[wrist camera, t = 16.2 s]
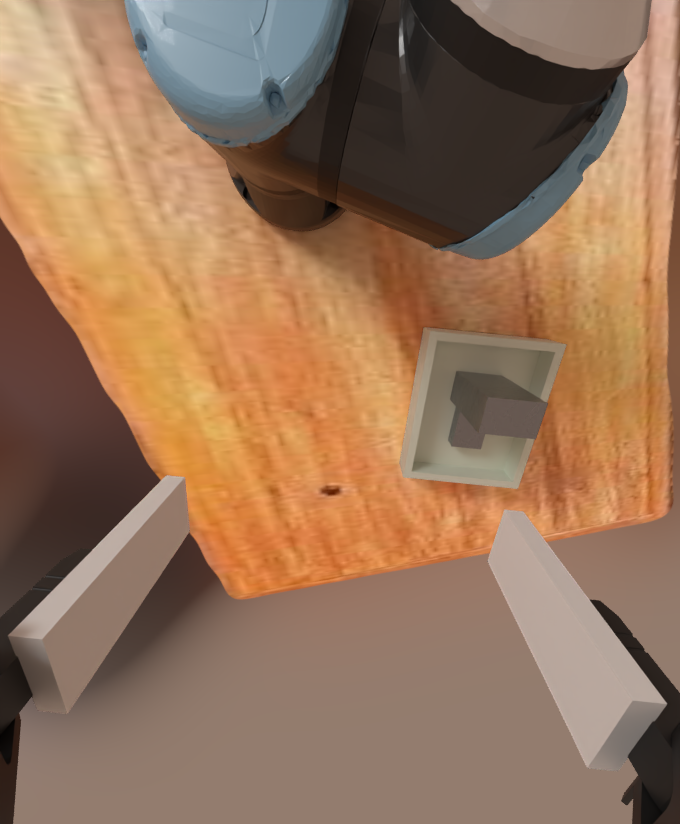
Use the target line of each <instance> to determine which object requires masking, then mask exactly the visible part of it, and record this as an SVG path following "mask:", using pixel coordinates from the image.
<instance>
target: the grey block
mask: <svg viewBox="0 0 680 824" xmlns="http://www.w3.org/2000/svg"><path fill="white" fill-rule="evenodd" d="M450 400H451V401H452V403H453V404H454V405H455V406H456V408H455V412H454V416H453V420H452V424H451V429H450V433H449V437H448V441H449V443H450V444H451V446H452V447H462V448H472V449H481V448H482V444H483V440H484V437H485V434H489V435H499V436H508V437H518V438H528V439H536V437H537V434H538V431H539V428H540V425H541V422H542V419H543V417H544V414H545V411H546V408H547V405H548V403H547V402H545V401H543V400H542V399H540V398H538V397H537V396H535V395H533V394H532V393H530V392H529V391H527V390H525V389H524V388H522V387H520V386H519V385H517V384H515V383H514V382H512V381H510V380H509V379H507V378H505V377H504V376H502V375H493V374H483V373H474V372H464V371H456V375H455V379H454V383H453V388H452V392H451V397H450Z"/></svg>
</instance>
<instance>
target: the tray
mask: <svg viewBox="0 0 680 824" xmlns="http://www.w3.org/2000/svg"><path fill="white" fill-rule="evenodd" d="M566 345H567V344H563V343H560V342H556V341H552V340H549V339H540V338H530V337H520V336H510V335H500V334H490V333H480V332H470V331H460V330H449V329H439V328H429V327H424V328H423V334H422V339H421V345H420V351H419V356H418V362H417V367H416V373H415V379H414V384H413V390H412V395H411V401H410V406H409V412H408V418H407V423H406V429H405V434H404V440H403V446H402V451H401V457H400V462H399V463H400V467H401V471H402V475H403V477H405V478H415V479H425V480H435V481H445V482H455V483H464V484H474V485H484V486H494V487H504V488H514V489H518V487H519V484H520V481H521V478H522V475H523V472H524V469H525V466H526V463H527V460H528V458H529V455H530V452H531V449H532V446H533V443H534V440H535V439H528V438H518V437H508V436H499V435H489V434H485V437H484V440H483V444H482V448H481V449H472V448H462V447H452V446H451V444H450V443H449V441H448V437H449V433H450V429H451V424H452V420H453V416H454V412H455V408H456V406H455V405H454V404H453V403H452V401H451V400H450V397H451V392H452V388H453V383H454V379H455V375H456V371H464V372H474V373H483V374H493V375H502V376H504V377H505V378H507V379H509V380H510V381H512V382H514V383H515V384H517V385H519V386H520V387H522V388H524V389H525V390H527V391H529V392H530V393H532V394H533V395H535V396H537V397H538V398H540V399H542V400H543V401H545V402H547V401H548V398H549V395H550V392H551V389H552V386H553V383H554V381H555V378H556V375H557V372H558V369H559V366H560V363H561V360H562V357H563V354H564V351H565V348H566Z"/></svg>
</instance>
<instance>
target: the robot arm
mask: <svg viewBox="0 0 680 824" xmlns="http://www.w3.org/2000/svg"><path fill="white" fill-rule="evenodd" d="M651 1H652V0H124V2H125V8H126V13H127V18H128V21H129V25H130V29H131V32H132V36H133V39H134V42H135V45H136V47H137V49H138V51H139V54H140V57H141V59H142V60H143V62H144V64H145V66H146V68H147V70H148V72H149V75H150V76H151V78H152V80H153V81H154V83H155V84H156V86H157V87H158V89H159V90H160V92H161V93H162V94H163V96H164V97H165V98H166V100H167V101H168V102H169V104H170V105H171V107H172V108H173V110H174V112H175V113H176V114H177V115H178V116H179V117H180V119H181V120H182V122H183V123H185V124H186V125H187V126H188V128H189V129H190V130H191V131H192V132H194V133H196V134H198V135H199V136H200V137H201V138H202V139H203V140H205V141H206V142H207V143H208V144H209V145H210V146H211V147H212V148H213V149H214V150H215V151H216V152H217V153H218V154H220V155H221V156H222V157H223V158H224V159H225V160H226V164H227V167H228V170H229V173H230V176H231V178H232V180H233V182H234V184H235V186H236V188H237V190H238V191H239V193H240V195H241V196H242V198H243V199H244V200H245V201H246V203H247V204H248V205H249V206H250V207H251V208H252V209H253V210H254V211H255V212H256V213H257V214H259V215H260V216H261V217H263V218H264V219H265V220H267V221H268V222H270V223H272V224H274V225H276V226H278V227H280V228H283V229H287V230H292V231H310V230H314V229H318V228H321V227H323V226H325V225H327V224H329V223H331V222H332V221H334V220H335V219H337V218H338V217H339V216H340V215H341V214H342V213H343V212H344V211H345V210H346V209H347V210H350V211H352V212H354V213H357V214H359V215H361V216H364V217H366V218H369V219H371V220H373V221H376V222H378V223H380V224H383V225H385V226H388V227H390V228H392V229H395V230H397V231H399V232H402V233H404V234H407V235H409V236H411V237H414V238H416V239H418V240H421V241H423V242H425V243H428V244H429V245H430V246H431V247H432V248H434V249H436V250H438V249H439V250H441V251H451V252H454V253H457V254H460V255H462V256H465V257H468V258H471V259H489V258H493V257H496V256H499V255H501V254H504V253H506V252H508V251H509V250H511V249H513V248H515V247H516V246H518V245H519V244H521V243H522V242H523V241H525V240H526V239H527V238H529V237H530V236H531V235H532V234H533V233H535V232H536V231H537V230H538V229H539V228H540V227H542V226H543V225H544V224H545V223H546V222H547V221H548V220H549V219H550V218H551V217H552V216H553V215H554V214H555V213H556V212H557V211H558V210H559V209H560V208H561V206H562V205H563V204H564V203H565V202H566V201H567V200H568V199H569V197H570V196H571V195H572V194H573V192H574V191H575V190H576V189H577V188H578V186H579V185H580V184H581V182H582V181H583V176H582V175H583V172H584V170H585V169H586V168H587V167H588V166H589V165H591V164H592V163H593V162H594V161H596V160H597V159H598V158H599V157H600V156H601V154H602V152H603V151H604V149H605V148H606V146H607V144H608V143H609V141H610V139H611V137H612V136H613V134H614V132H615V130H616V128H617V126H618V123H619V121H620V118H621V116H622V113H623V111H624V108H625V105H626V99H627V90H628V84H627V80H626V77H625V76H624V69H625V67H626V66H627V65H628V64H629V62H630V61H631V60H632V58H633V57H634V56H635V55H636V53H637V52H638V50H639V49H640V47H641V46H642V44H643V43H644V41H645V40H646V38H647V32H648V25H649V17H650V9H651ZM189 531H190V528H189V517H188V506H187V495H186V483H185V477H177V476H167V475H166V476H165V477H164V478H163V479H162V480H161V481H160V482H159V483H158V484H157V485H156V487H154V488H153V489H152V490H151V491H150V492H149V493H148V495H147V496H146V497H145V498H144V499H143V500H142V501H141V502H140V503H139V504H138V505H137V506H136V507H135V508H134V509H133V510H132V511H131V512H130V513H129V514H128V515H127V516H126V517H125V518H124V519H123V520H122V521H121V522H120V523H119V524H118V525H117V526H116V527H115V528H114V529H113V530H112V531H111V532H110V533H109V534H108V535H107V536H106V537H105V538H104V539H103V540H102V541H101V542H100V543H99V544H98V545H97V546H96V547H95V548H94V549H93V550H91V549H80V550H78V551H76V552H74V553H73V554H71V555H69V556H68V557H66V558H64V559H63V560H61V561H60V562H59V563H58V564H57V565H56V566H55V567H54V568H53V569H52V570H51V571H49V572H48V573H47V574H46V577H45V578H42V579H41V580H40V581H39V582H38V583H37V584H36V585H35V586H34V587H33V589H32V590H29V591H28V592H27V593H26V594H25V595H24V596H23V597H22V598H21V599H20V600H19V601H17V602H16V603H15V605H13V607H11V608H10V609H9V610H8V611H7V612H6V613H5V614H4V615H3V616H2V617H0V824H13V817H14V804H15V792H16V779H17V766H18V752H19V740H20V727H21V719H20V715H19V712H20V711H21V710H22V708H23V707H24V706H25V704H26V703H27V702H28V701H29V699H30V698H31V697H32V698H33V701H34V703H35V706H36V709H37V710H38V711H46V712H54V713H65V714H68V712H69V711H70V709H71V708H72V706H73V705H74V703H75V702H76V700H77V699H78V697H79V696H80V694H81V693H82V691H83V690H84V688H85V687H86V685H87V684H88V682H89V681H90V679H91V678H92V676H93V675H94V673H95V672H96V670H97V669H98V667H99V666H100V665H101V663H102V661H103V660H104V658H105V657H106V656H107V654H108V653H109V651H110V649H111V648H112V647H113V645H114V643H115V642H116V641H117V639H118V638H119V636H120V634H121V633H122V632H123V630H124V628H125V627H126V626H127V624H128V623H129V621H130V620H131V618H132V617H133V615H134V614H135V612H136V611H137V609H138V608H139V606H140V605H141V603H142V602H143V600H144V599H145V597H146V596H147V594H148V593H149V591H150V590H151V588H152V587H153V585H154V584H155V582H156V581H157V579H158V578H159V576H160V575H161V573H162V572H163V570H164V569H165V567H166V566H167V564H168V563H169V561H170V560H171V558H172V557H173V555H174V554H175V552H176V551H177V549H178V548H179V546H180V545H181V543H182V542H183V540H184V539H185V537H186V536H187V534H188V533H189ZM488 564H489V566H490V567H491V570H492V572H493V574H494V576H495V578H496V580H497V582H498V584H499V586H500V588H501V590H502V593H503V595H504V597H505V599H506V600H507V603H508V605H509V607H510V609H511V611H512V613H513V615H514V617H515V619H516V621H517V624H518V626H519V628H520V630H521V632H522V634H523V636H524V638H525V640H526V642H527V644H528V646H529V648H530V650H531V652H532V655H533V656H534V659H535V660H536V663H537V665H538V667H539V669H540V671H541V673H542V675H543V677H544V679H545V681H546V683H547V685H548V688H549V690H550V692H551V694H552V696H553V698H554V700H555V702H556V704H557V706H558V708H559V710H560V712H561V715H562V717H563V718H564V721H565V723H566V725H567V727H568V729H569V731H570V733H571V735H572V737H573V739H574V741H575V743H576V746H577V748H578V749H579V752H580V754H581V756H582V758H583V760H584V762H585V764H586V766H587V768H591V769H601V770H610V771H618V770H619V769H620V768H621V767H622V765H623V764H624V763H625V761H626V760H627V758H629V760H630V762H631V763H632V765H633V767H634V768H635V770H636V772H637V773H638V776H637V777H636V779H635V780H634V781H633V783H632V784H631V785H630V786H629V788H628V789H627V790H626V792H625V793H624V795H623V798H622V800H621V801H622V802H623V803H624V804H625V805H628V804H629V802H630V801H631V800H632V799H633V819H632V824H680V693H679V692H678V690H677V689H676V688H675V687H674V685H673V684H672V683H671V682H670V680H669V679H668V678H667V677H666V675H665V674H664V673H663V672H662V670H661V669H660V668H659V667H658V665H657V664H656V663H655V662H654V660H653V659H652V658H651V657H650V655H649V654H648V653H646V652H645V651H644V648H643V646H642V645H641V644H640V643H639V642H638V640H637V639H636V638H634V637H633V636H632V633H631V631H630V630H629V629H628V628H627V627H626V625H625V624H624V623H623V621H622V620H621V619H620V618H619V616H617V615H616V614H615V613H614V612H613V611H612V610H610V609H609V608H608V607H607V606H606V605H604V604H603V603H602V602H601V601H598V600H589V599H588V598H587V596H586V595H585V594H584V592H583V591H582V589H581V588H580V587H579V586H578V584H577V583H576V581H575V580H574V579H573V577H572V576H571V575H570V573H569V572H568V571H567V569H566V568H565V567H564V565H563V564H562V563H561V561H560V560H559V559H558V557H557V556H556V555H555V553H554V552H553V551H552V549H551V548H550V547H549V545H548V544H547V543H546V541H545V540H544V539H543V537H542V536H541V535H540V533H539V532H538V531H537V529H536V528H535V527H534V525H533V524H532V523H531V521H530V520H529V519H528V517H527V516H526V515H525V513H524V512H522V511H512V510H504V513H503V516H502V519H501V522H500V525H499V528H498V531H497V534H496V537H495V540H494V543H493V546H492V549H491V552H490V555H489V558H488Z"/></svg>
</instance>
